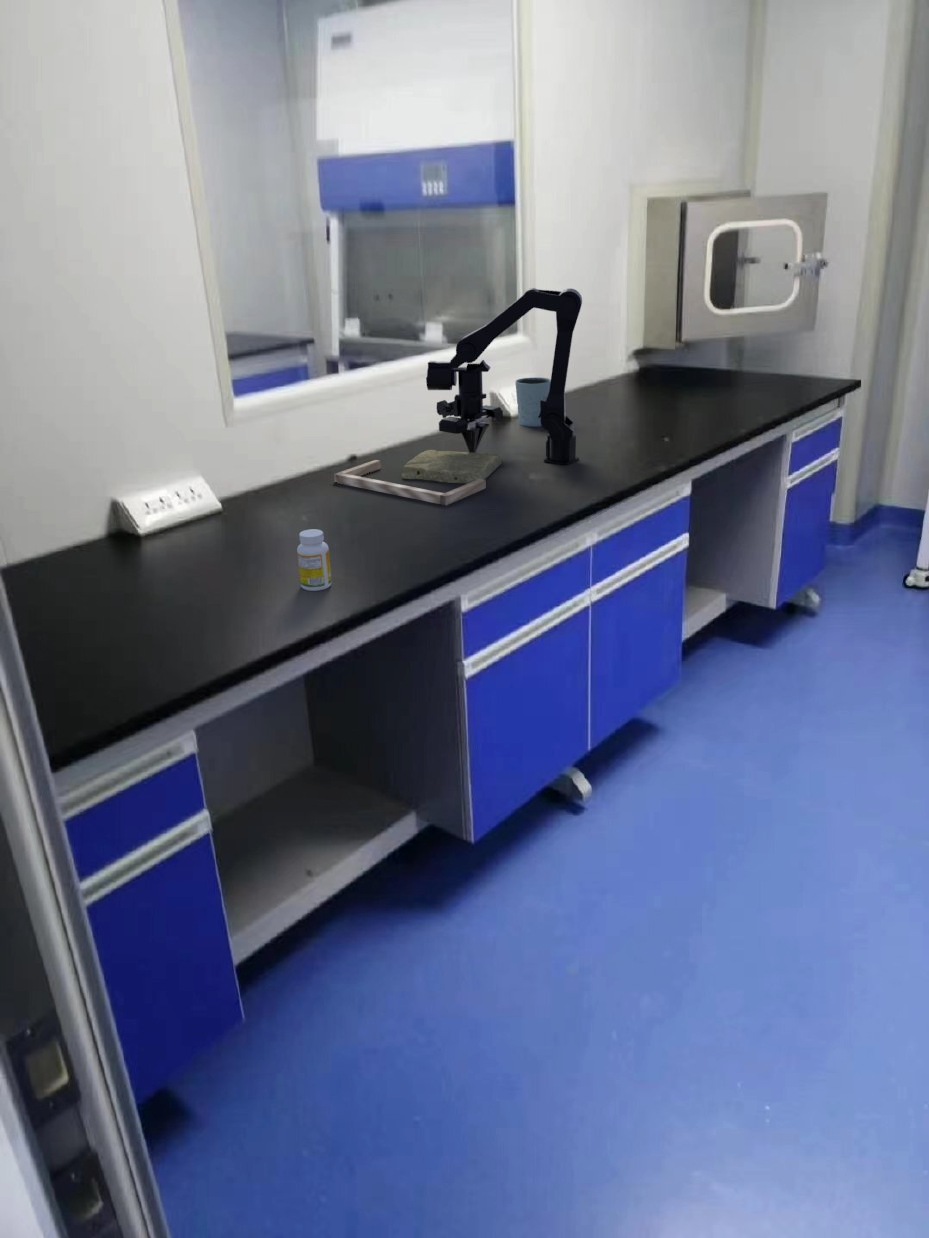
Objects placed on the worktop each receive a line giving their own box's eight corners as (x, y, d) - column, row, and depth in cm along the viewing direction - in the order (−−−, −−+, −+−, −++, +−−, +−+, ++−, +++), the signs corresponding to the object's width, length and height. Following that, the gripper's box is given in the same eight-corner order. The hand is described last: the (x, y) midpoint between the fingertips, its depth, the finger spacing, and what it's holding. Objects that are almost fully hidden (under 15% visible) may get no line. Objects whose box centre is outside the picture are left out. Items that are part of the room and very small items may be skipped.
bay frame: (485, 488, 210) (485, 479, 209) (446, 505, 200) (445, 496, 199) (376, 467, 228) (375, 459, 228) (334, 482, 218) (333, 474, 217)
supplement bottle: (315, 594, 158) (309, 540, 154) (294, 587, 161) (288, 534, 157) (338, 584, 162) (333, 531, 158) (317, 577, 165) (312, 525, 161)
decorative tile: (424, 461, 235) (424, 447, 233) (502, 465, 229) (501, 451, 227) (397, 482, 219) (396, 467, 217) (479, 487, 213) (479, 472, 211)
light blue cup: (533, 429, 259) (533, 385, 254) (508, 423, 266) (507, 380, 261) (558, 422, 265) (559, 379, 260) (533, 417, 272) (533, 375, 267)
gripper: (467, 380, 235) (469, 441, 242) (419, 393, 222) (423, 458, 229) (503, 384, 229) (504, 447, 236) (456, 398, 216) (458, 464, 223)
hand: (472, 453), depth 231 cm, fingers closed
